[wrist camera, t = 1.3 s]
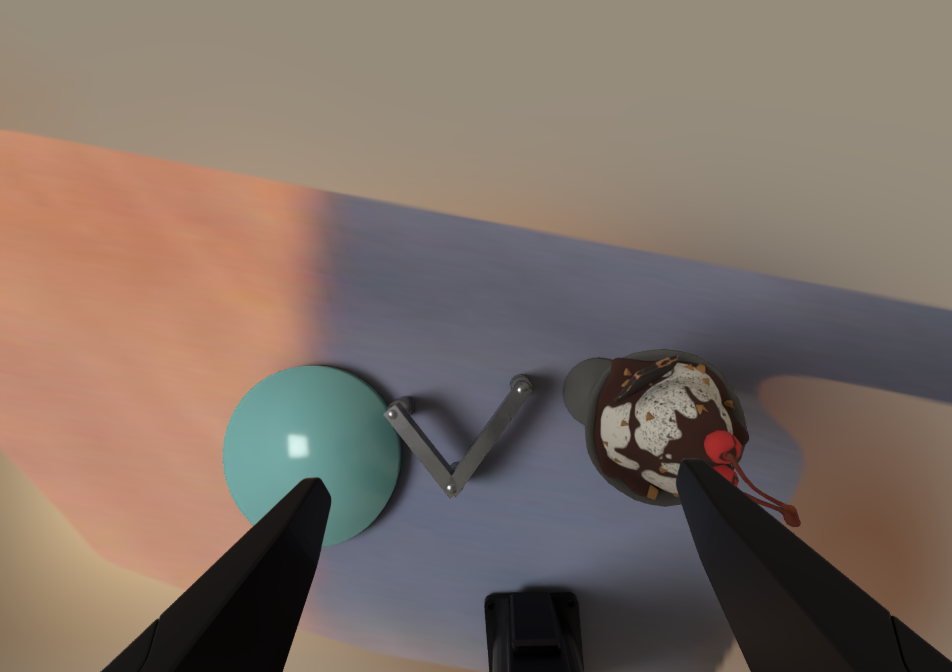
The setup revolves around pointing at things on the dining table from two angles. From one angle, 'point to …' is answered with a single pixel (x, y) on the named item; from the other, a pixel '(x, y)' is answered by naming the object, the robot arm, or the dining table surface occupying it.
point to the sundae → (659, 423)
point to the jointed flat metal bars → (460, 472)
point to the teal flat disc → (313, 446)
